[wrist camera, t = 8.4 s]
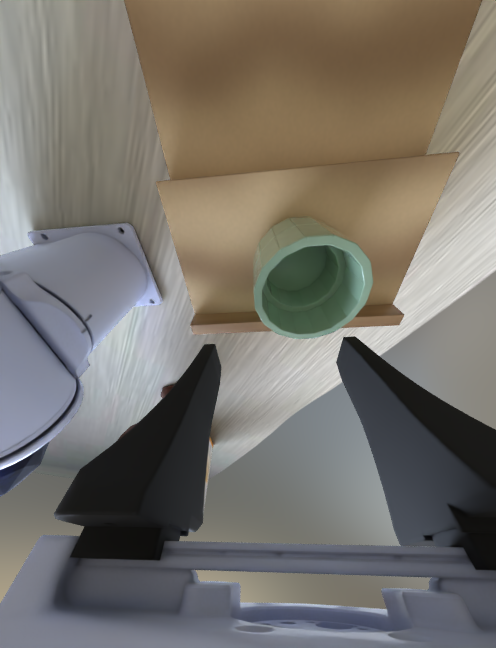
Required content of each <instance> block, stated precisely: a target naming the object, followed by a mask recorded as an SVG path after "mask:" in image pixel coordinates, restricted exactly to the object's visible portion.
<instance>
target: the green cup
mask: <svg viewBox="0 0 496 648" xmlns="http://www.w3.org/2000/svg"><path fill="white" fill-rule="evenodd" d="M253 279H254V304H255V310H256V312H257V313H258V315H259V317H260V319H261V320H262V322H263V324H264V325H266V326H267V327H268V328H270V329H271V330H273V331H274V332H275V333H277V334H279V335H282V336H286V337H290V338H293V339H309V338H317V337H320V336H323V335H326V334H329V333H332V332H334V331H336V330H338V329H339V328H341V327H342V326H344V325H345V324H347V323H348V322H350V321H351V320H352V319H354V317H355V316H356V315H357V314H358V312H359V311H360V310H361V309H362V308H363V306H364V305H365V304H366V302H367V300H368V297H369V294H370V291H371V288H372V285H373V275H372V267H371V262H370V259H369V258H368V257H367V256H366V254H365V253H364V252H363V250H362V249H361V248H360V247H359V245H358V244H356V243H355V242H354V241H352V240H350V239H349V238H347V237H346V236H344V235H343V234H341V233H340V232H338V231H336V230H335V229H333V228H332V227H330V226H329V225H327V224H325V223H324V222H321V221H319V220H316V219H314V218H311V217H308V216H303V217H291V218H287V219H286V220H284V221H282V222H280V223H278V224H276V225H274V226H272V228H270V229H269V231H268V232H267V233H266V234H265V235H264V237H263V238H262V239H261V240H260V242H259V243H258V246H257V249H256V252H255V255H254V259H253Z"/></svg>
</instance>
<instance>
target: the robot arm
mask: <svg viewBox="0 0 496 648" xmlns="http://www.w3.org/2000/svg"><path fill="white" fill-rule="evenodd" d="M120 227H121V228H122V229H123V230H124V233H123V232H121V230H120ZM45 235H46V236H47V237H48V238H47V237H46V236H45ZM28 237H29V239H30V240H31V241H32V243H33V244H34V245H32V246H29V247H26V248H23V249H20V250H16V251H13V252H10V253H7V254H4V255H0V470H1V469H3V468H6V467H8V466H10V465H12V464H15V463H16V462H18V461H20V460H22V459H24V458H26V457H27V456H29V455H31V454H32V453H34V452H35V451H37V450H38V449H40V448H41V447H42V446H44V445H45V444H46V443H48V442H49V441H50V440H52V439H53V438H54V437H55V436H56V435H57V434H58V433H59V432H60V431H61V430H62V429H63V428H64V427H65V426H66V425H67V424H68V423H69V422H70V421H71V419H72V418H73V417H74V415H75V414H76V412H77V411H78V409H79V407H80V405H81V402H82V400H83V395H84V388H83V384H82V382H81V381H80V379H79V377H80V376H81V375H82V374H83V373H84V372H85V370H86V369H87V368H88V367H89V366H90V364H89V362H88V355H89V354H90V353H91V352H92V351H93V350H94V349H95V348H96V346H97V345H98V344H99V343H100V342H101V341H102V340H103V339H104V338H105V337H106V336H107V334H108V333H109V332H110V331H111V330H112V329H113V328H114V327H115V326H116V325H117V324H118V323H119V321H120V320H121V319H122V318H123V317H124V316H125V315H126V314H127V313H128V312H129V311H130V310H131V308H132V307H133V306H148V305H160V304H161V303H162V301H163V300H162V297H161V295H160V292H159V290H158V287H157V285H156V282H155V280H154V277H153V275H152V272H151V270H150V267H149V265H148V262H147V260H146V257H145V255H144V252H143V250H142V247H141V245H140V242H139V240H138V237H137V235H136V232H135V230H134V228H133V226H132V225H131V224H129V223H119V224H108V225H96V226H84V227H72V228H60V229H49V230H37V231H30V232H28ZM151 299H152V300H154V301H155V302H153V301H152V300H151ZM336 363H337V366H338V369H339V373H340V376H341V379H342V381H343V383H344V385H345V388H346V390H347V392H348V394H349V396H350V398H351V401H352V403H353V405H354V407H355V409H356V411H357V414H358V416H359V418H360V420H361V423H362V425H363V428H364V430H365V433H366V436H367V439H368V442H369V445H370V448H371V451H372V454H373V457H374V460H375V463H376V466H377V469H378V473H379V476H380V480H381V483H382V486H383V490H384V493H385V497H386V501H387V504H388V508H389V512H390V515H391V520H392V524H393V528H394V531H395V533H396V536H397V539H398V541H399V544H400V545H401V546H373V545H371V546H370V545H326V544H282V543H236V542H234V543H233V542H188V541H186V542H185V541H179V539H180V536H188V532H196V531H197V530H198V529H199V527H200V526H201V525H202V523H203V509H204V494H205V481H206V469H207V459H208V449H209V440H210V431H211V425H212V419H213V414H214V410H215V405H216V400H217V395H218V390H219V385H220V377H221V364H220V361H219V357H218V353H217V349H216V346H215V344H205V345H204V346H203V347H202V349H201V350H200V352H199V353H198V355H197V356H196V358H195V359H194V360H193V362H192V363H191V365H190V366H189V367H188V369H187V370H186V371H185V373H184V374H183V375H182V377H181V378H180V379H179V380H178V381H177V383H176V384H175V385H174V386H173V388H172V389H171V390H170V391H169V392H168V393H167V395H166V396H165V397H164V398H163V399H162V400H161V401H160V402H159V403H158V404H157V405H156V406H155V407H154V408H153V409H152V410H151V411H150V412H149V413H148V414H147V415H146V416H145V417H144V418H143V419H142V420H141V421H140V422H139V423H137V424H136V425H135V426H134V427H133V428H132V429H131V430H129V431H128V432H127V433H126V434H125V435H124V436H122V437H121V438H120V439H119V440H118V441H117V442H115V443H114V444H113V445H112V446H110V447H109V448H108V449H106V450H105V451H104V452H103V453H101V454H100V455H99V456H97V457H96V458H95V459H93V460H92V461H91V462H89V463H88V464H87V465H85V466H84V467H83V468H81V469H80V471H79V472H78V474H77V476H76V477H75V479H74V480H73V482H72V484H71V486H70V487H69V489H68V491H67V492H66V494H65V496H64V498H63V499H62V501H61V503H60V504H59V506H58V508H57V509H56V511H55V513H54V516H55V518H56V519H58V520H62V521H65V522H69V523H73V524H77V525H81V526H85V527H84V529H83V531H82V533H81V535H80V536H65V535H61V536H60V535H43V536H41V537H40V538H39V539H38V541H37V543H36V544H35V546H34V547H33V549H32V551H31V553H30V554H29V556H28V558H27V559H26V561H25V563H24V564H23V566H22V568H21V570H20V571H19V573H18V575H17V576H16V578H15V580H14V581H13V583H12V585H11V586H10V588H9V590H8V592H7V593H6V595H5V597H4V598H3V600H2V602H1V603H0V648H496V430H495V429H493V428H491V427H489V426H487V425H485V424H483V423H482V422H480V421H478V420H476V419H474V418H472V417H470V416H468V415H467V414H465V413H463V412H462V411H460V410H458V409H456V408H454V407H453V406H451V405H449V404H448V403H446V402H444V401H442V400H441V399H439V398H438V397H436V396H435V395H433V394H431V393H430V392H428V391H427V390H425V389H423V388H422V387H420V386H419V385H417V384H416V383H414V382H413V381H412V380H410V379H409V378H407V377H406V376H405V375H403V374H402V373H400V372H399V371H398V370H396V369H395V368H394V367H392V366H391V365H390V364H388V363H387V362H386V361H385V360H383V359H382V358H381V357H380V356H378V355H377V354H376V353H375V352H373V351H372V350H371V349H370V348H369V347H367V346H366V345H365V344H364V343H362V342H361V341H360V340H359V339H357V338H356V337H343V341H342V344H341V348H340V351H339V355H338V358H337V362H336ZM419 546H429V547H419ZM194 570H218V571H247V572H280V573H309V574H310V573H311V574H340V575H341V574H342V575H371V576H402V577H432V578H431V579H430V581H429V589H428V590H420V589H403V588H382V591H381V592H382V595H383V598H384V602H385V605H386V608H387V609H373V608H360V607H347V606H333V605H318V604H317V605H316V604H297V603H296V604H295V603H240V584H239V583H233V582H217V581H216V582H215V581H210V582H209V581H206V582H205V581H204V582H200V581H199V580H198V576H197V573H196V571H194Z"/></svg>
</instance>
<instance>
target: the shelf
mask: <svg viewBox="0 0 496 648" xmlns="http://www.w3.org/2000/svg"><path fill="white" fill-rule="evenodd" d="M124 2H125V6H126V10H127V13H128V17H129V21H130V25H131V29H132V33H133V37H134V41H135V44H136V48H137V52H138V56H139V60H140V64H141V68H142V72H143V75H144V79H145V83H146V87H147V91H148V95H149V99H150V103H151V106H152V110H153V114H154V118H155V122H156V126H157V130H158V134H159V137H160V141H161V145H162V149H163V153H164V157H165V161H166V165H167V168H168V172H169V176H170V180H164V181H156V185H157V188H158V192H159V195H160V198H161V202H162V205H163V208H164V212H165V215H166V219H167V222H168V225H169V229H170V232H171V235H172V239H173V242H174V245H175V249H176V252H177V256H178V259H179V262H180V266H181V269H182V272H183V276H184V279H185V282H186V286H187V289H188V293H189V296H190V299H191V303H192V306H193V309H194V313H195V315H194V318H193V320H192V322H191V325H190V326H191V329H192V332H193V335H196V334H218V333H239V332H261V331H273V330H271V329H270V328H268V327H267V326H266V325H264V324H263V322H262V320H261V319H260V317H259V315H258V313H257V312H256V310H255V304H254V279H253V259H254V255H255V252H256V249H257V246H258V243H259V242H260V240H261V239H262V238H263V237H264V235H265V234H266V233H267V232H268V231H269V229H270V228H272V226H274V225H276V224H278V223H280V222H282V221H284V220H286V219H287V218H291V217H303V216H308V217H311V218H314V219H316V220H319V221H321V222H324V223H325V224H327V225H329V226H330V227H332V228H333V229H335V230H336V231H338V232H340V233H341V234H343V235H344V236H346V237H347V238H349V239H350V240H352V241H354V242H355V243H356V244H358V245H359V247H360V248H361V249H362V250H363V252H364V253H365V254H366V256H367V257H368V258H369V259H370V262H371V267H372V275H373V285H372V288H371V291H370V294H369V297H368V300H367V302H366V304H365V305H364V306H363V308H362V309H361V310H360V311H359V312H358V314H357V315H356V316H355V317H354V319H352V320H351V321H350V322H348V323H347V324H345V325H344V326H342V327H341V328H349V327H370V326H392V325H399V324H400V322H401V320H402V319H403V317H404V314H403V313H402V312H401V311H400V310H399V309H398V308H396V307H395V306H394V305H393V301H394V299H395V297H396V295H397V292H398V290H399V288H400V286H401V283H402V281H403V279H404V277H405V275H406V272H407V270H408V268H409V266H410V263H411V261H412V259H413V257H414V254H415V252H416V250H417V248H418V245H419V243H420V241H421V239H422V236H423V234H424V232H425V230H426V227H427V225H428V223H429V221H430V218H431V216H432V214H433V212H434V210H435V207H436V205H437V203H438V201H439V198H440V196H441V194H442V192H443V189H444V187H445V185H446V183H447V180H448V178H449V176H450V174H451V171H452V169H453V167H454V165H455V162H456V160H457V158H458V156H459V153H460V152H450V153H440V154H430V155H426V152H427V149H428V147H429V144H430V141H431V138H432V136H433V133H434V130H435V127H436V125H437V122H438V119H439V117H440V114H441V111H442V108H443V106H444V103H445V100H446V97H447V95H448V92H449V89H450V87H451V84H452V81H453V78H454V76H455V73H456V70H457V67H458V65H459V62H460V59H461V56H462V54H463V51H464V48H465V46H466V43H467V40H468V37H469V35H470V32H471V29H472V26H473V24H474V21H475V18H476V16H477V13H478V10H479V7H480V5H481V2H482V0H124Z"/></svg>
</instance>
